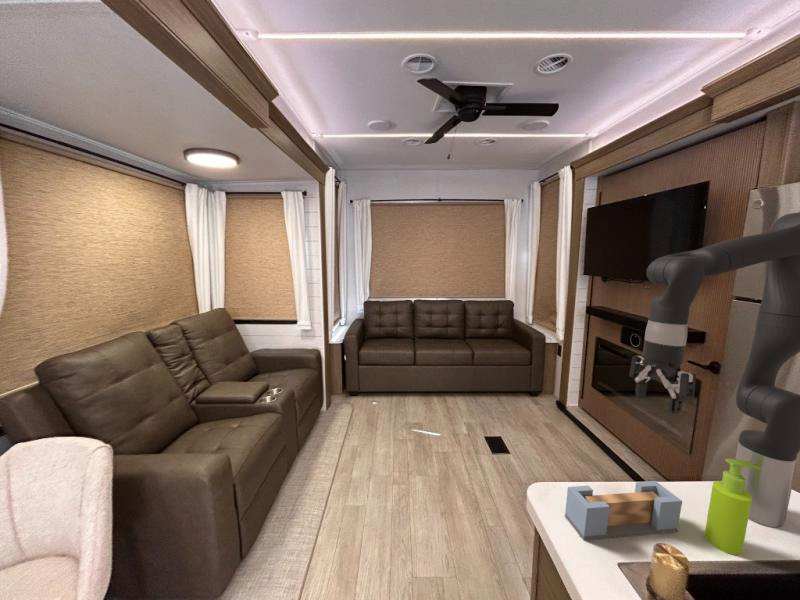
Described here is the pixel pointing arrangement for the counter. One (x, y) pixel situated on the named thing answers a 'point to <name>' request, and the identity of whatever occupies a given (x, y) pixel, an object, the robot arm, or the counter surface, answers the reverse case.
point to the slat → (627, 507)
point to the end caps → (594, 522)
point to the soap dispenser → (729, 509)
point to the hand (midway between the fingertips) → (656, 404)
